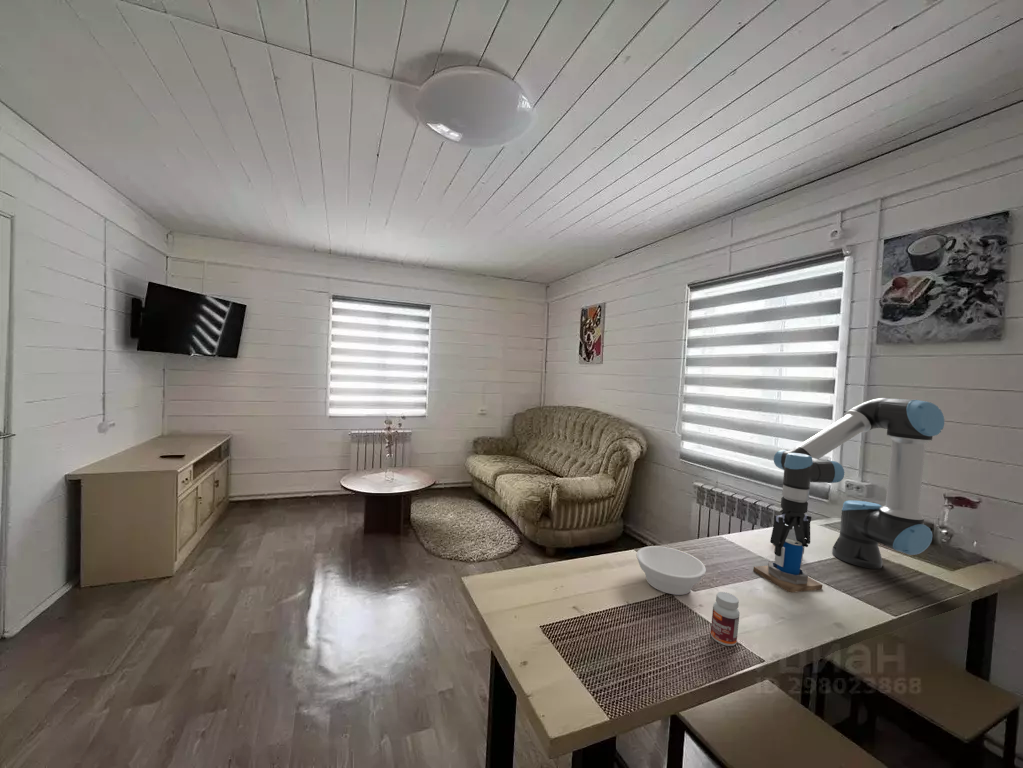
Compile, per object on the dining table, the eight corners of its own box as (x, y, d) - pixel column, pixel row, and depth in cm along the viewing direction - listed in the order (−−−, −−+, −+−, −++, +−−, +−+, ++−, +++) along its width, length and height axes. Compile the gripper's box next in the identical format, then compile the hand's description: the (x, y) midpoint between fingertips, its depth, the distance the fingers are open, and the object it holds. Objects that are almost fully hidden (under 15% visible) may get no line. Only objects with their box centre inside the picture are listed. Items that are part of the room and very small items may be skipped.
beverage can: (802, 581, 137) (807, 547, 136) (781, 577, 138) (786, 543, 137) (793, 572, 143) (798, 539, 142) (772, 568, 144) (777, 535, 144)
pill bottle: (707, 638, 106) (711, 596, 106) (713, 628, 111) (717, 587, 110) (733, 650, 102) (738, 607, 102) (739, 639, 107) (743, 597, 106)
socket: (784, 568, 149) (785, 557, 149) (822, 589, 136) (823, 577, 136) (753, 570, 146) (754, 559, 145) (788, 592, 132) (790, 580, 132)
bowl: (712, 587, 133) (715, 562, 132) (689, 613, 117) (692, 585, 117) (650, 562, 147) (652, 540, 147) (622, 582, 132) (624, 558, 131)
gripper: (807, 494, 145) (801, 557, 147) (761, 495, 140) (755, 560, 141) (828, 501, 138) (821, 567, 139) (780, 503, 133) (774, 571, 134)
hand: (788, 563), depth 140 cm, fingers open, 7 cm apart
